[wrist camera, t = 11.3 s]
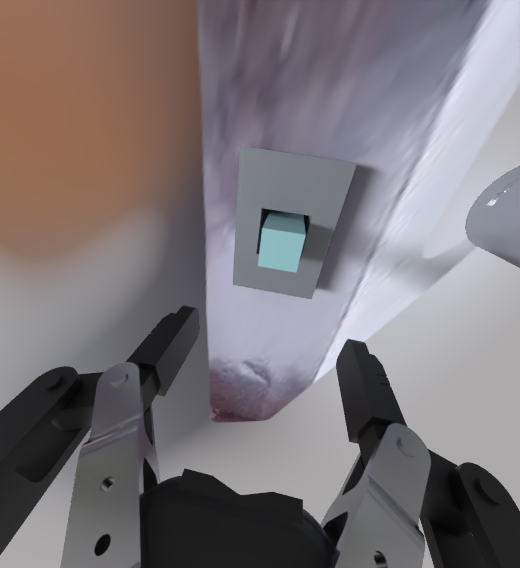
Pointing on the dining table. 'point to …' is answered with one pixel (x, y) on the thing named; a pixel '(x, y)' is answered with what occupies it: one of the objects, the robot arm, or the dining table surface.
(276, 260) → the teal rectangular block
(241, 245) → the grey slotted block
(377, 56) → the dining table surface
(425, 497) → the robot arm
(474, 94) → the dining table surface
